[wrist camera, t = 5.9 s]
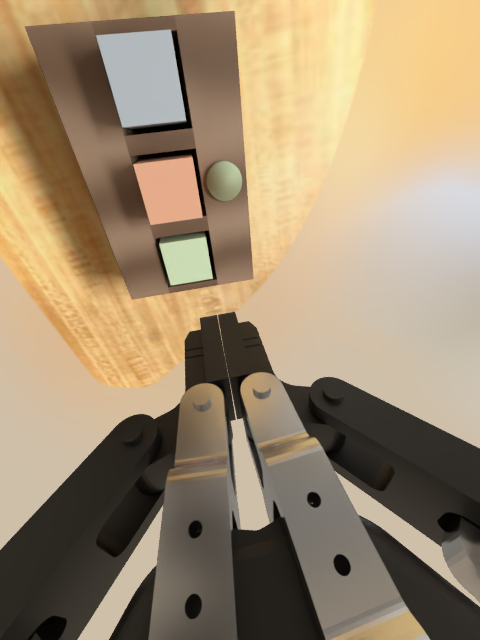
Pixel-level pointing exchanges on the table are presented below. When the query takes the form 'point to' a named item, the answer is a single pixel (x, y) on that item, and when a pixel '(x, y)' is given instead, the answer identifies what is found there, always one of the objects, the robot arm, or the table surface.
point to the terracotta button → (169, 188)
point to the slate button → (143, 78)
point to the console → (156, 142)
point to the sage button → (186, 257)
